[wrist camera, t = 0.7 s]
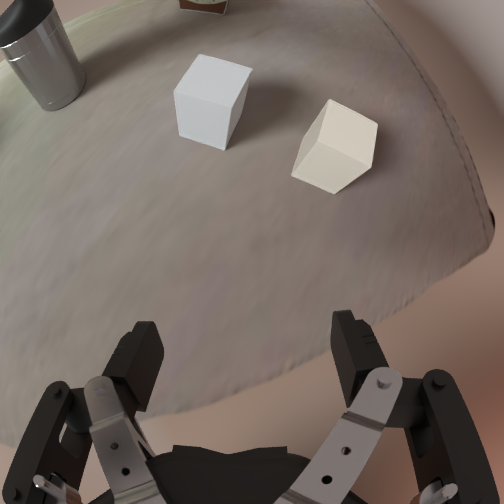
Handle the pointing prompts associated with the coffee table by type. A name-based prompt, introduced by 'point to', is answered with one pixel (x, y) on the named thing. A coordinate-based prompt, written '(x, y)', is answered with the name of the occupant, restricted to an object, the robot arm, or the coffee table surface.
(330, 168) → the cover
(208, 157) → the coffee table surface
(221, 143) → the cover
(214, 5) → the food container
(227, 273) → the coffee table surface
